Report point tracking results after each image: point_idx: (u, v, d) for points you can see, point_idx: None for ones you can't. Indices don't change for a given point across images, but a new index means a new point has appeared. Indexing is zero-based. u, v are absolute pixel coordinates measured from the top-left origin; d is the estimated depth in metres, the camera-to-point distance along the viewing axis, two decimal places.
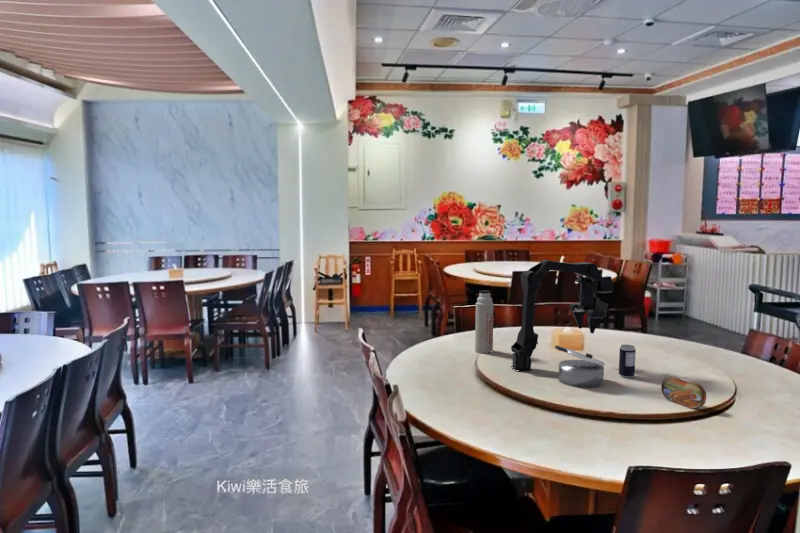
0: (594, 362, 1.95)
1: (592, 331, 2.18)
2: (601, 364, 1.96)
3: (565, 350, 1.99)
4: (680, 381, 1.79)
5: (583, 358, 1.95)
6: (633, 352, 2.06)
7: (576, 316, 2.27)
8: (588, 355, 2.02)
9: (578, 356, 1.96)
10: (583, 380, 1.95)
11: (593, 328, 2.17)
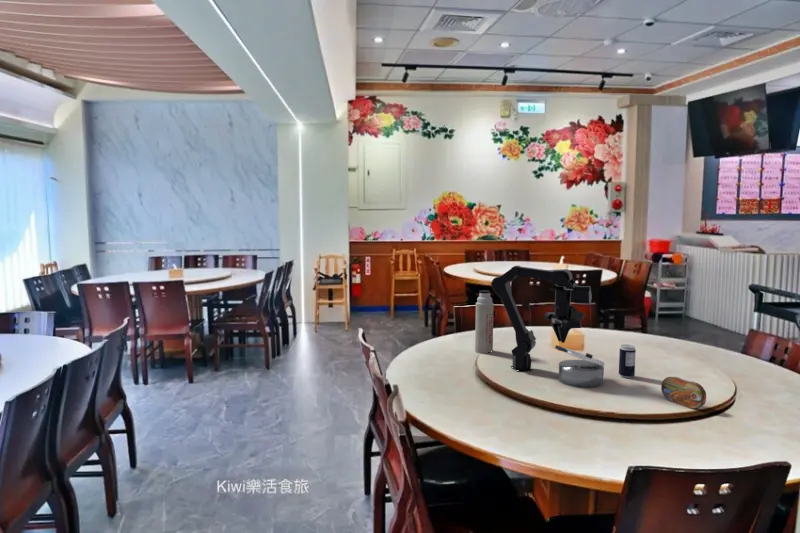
0: (594, 362, 1.95)
1: (563, 340, 2.08)
2: (601, 364, 1.96)
3: (565, 350, 1.99)
4: (680, 381, 1.79)
5: (583, 358, 1.95)
6: (633, 352, 2.06)
7: (556, 328, 2.11)
8: (588, 355, 2.02)
9: (578, 356, 1.96)
10: (583, 380, 1.95)
11: (564, 337, 2.08)
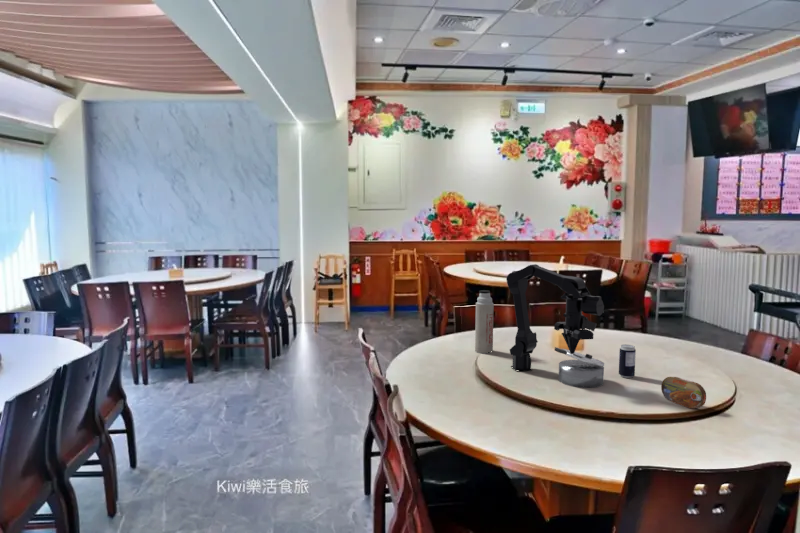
0: (594, 363, 1.95)
1: (572, 351, 2.01)
2: (601, 364, 1.96)
3: (564, 352, 1.99)
4: (680, 381, 1.79)
5: (583, 359, 1.95)
6: (633, 352, 2.06)
7: (568, 339, 2.02)
8: (588, 356, 2.02)
9: (577, 358, 1.96)
10: (583, 380, 1.95)
11: (573, 348, 2.00)
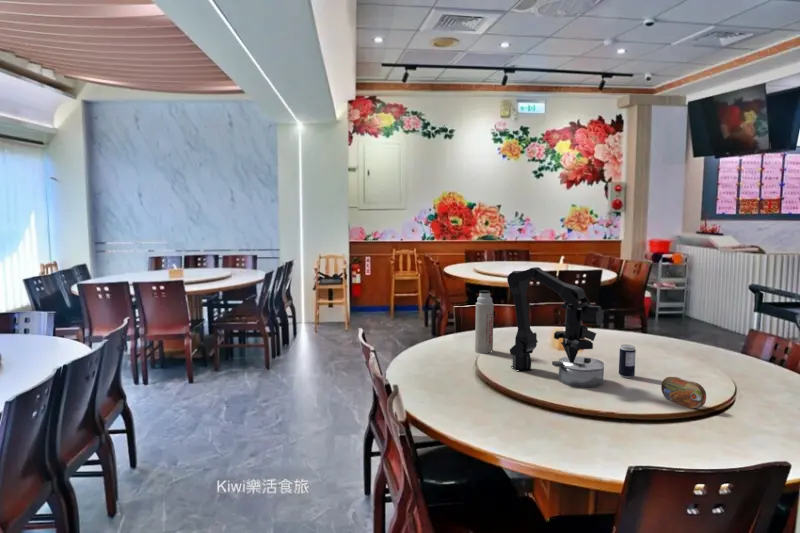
0: (593, 369, 1.95)
1: (572, 360, 2.01)
2: (600, 367, 1.97)
3: (562, 364, 2.00)
4: (680, 381, 1.79)
5: (581, 368, 1.95)
6: (633, 352, 2.06)
7: None
8: (586, 360, 2.02)
9: (576, 368, 1.96)
10: (583, 380, 1.95)
11: (573, 357, 2.01)
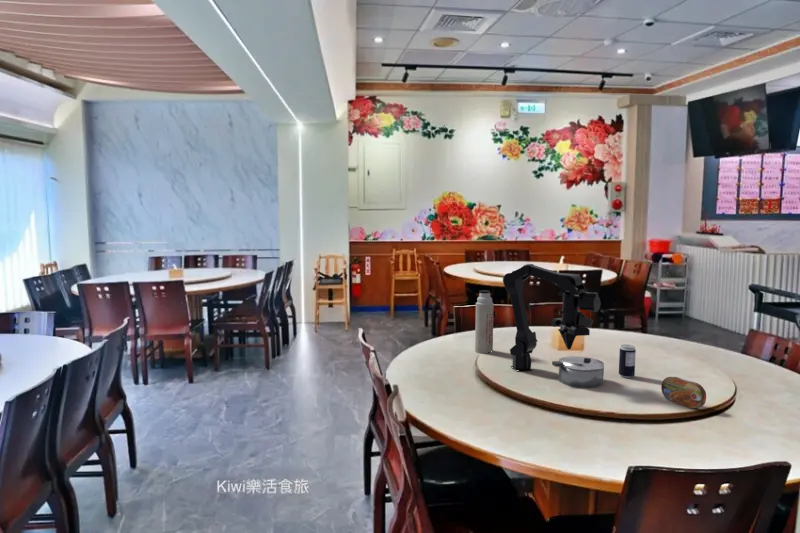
0: (593, 369, 1.95)
1: (569, 347, 2.03)
2: (600, 367, 1.97)
3: (562, 364, 2.00)
4: (680, 381, 1.79)
5: (581, 368, 1.95)
6: (633, 352, 2.06)
7: None
8: (586, 360, 2.02)
9: (576, 368, 1.96)
10: (583, 380, 1.95)
11: (570, 344, 2.02)
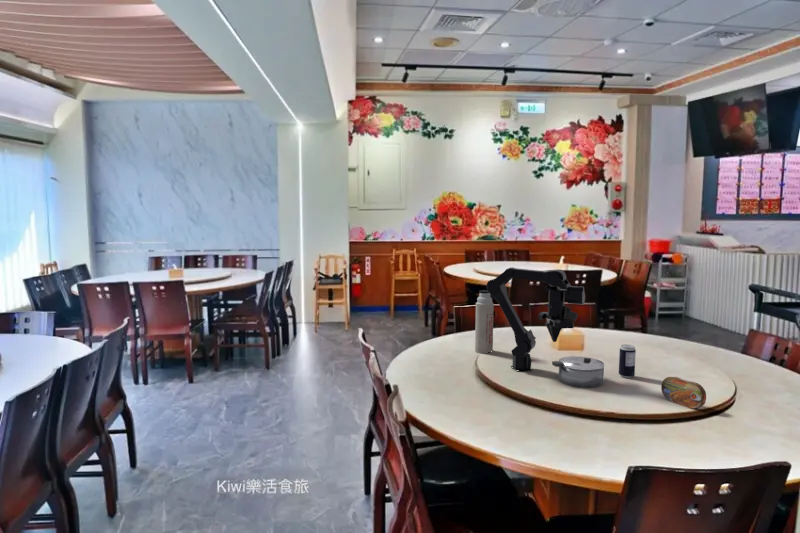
0: (593, 369, 1.95)
1: (555, 340, 2.11)
2: (600, 367, 1.97)
3: (562, 364, 2.00)
4: (680, 381, 1.79)
5: (581, 368, 1.95)
6: (633, 352, 2.06)
7: None
8: (586, 360, 2.02)
9: (576, 368, 1.96)
10: (583, 380, 1.95)
11: (556, 336, 2.10)
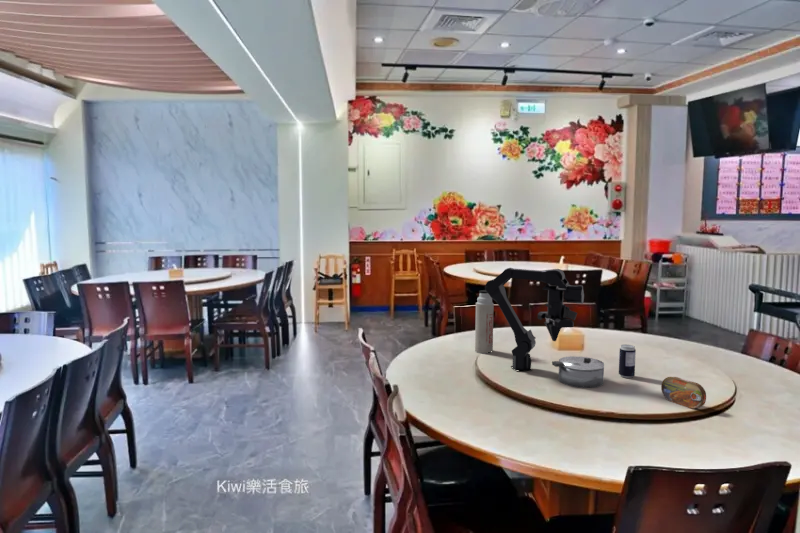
0: (593, 369, 1.95)
1: (554, 339, 2.11)
2: (600, 367, 1.97)
3: (562, 364, 2.00)
4: (680, 381, 1.79)
5: (581, 368, 1.95)
6: (633, 352, 2.06)
7: (550, 328, 2.12)
8: (586, 360, 2.02)
9: (576, 368, 1.96)
10: (583, 380, 1.95)
11: (555, 336, 2.11)
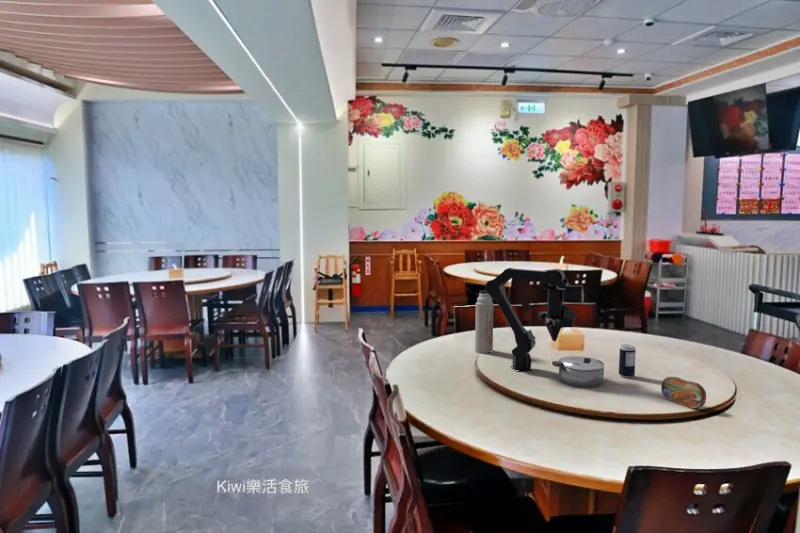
0: (593, 369, 1.95)
1: (554, 339, 2.11)
2: (600, 367, 1.97)
3: (562, 364, 2.00)
4: (680, 381, 1.79)
5: (581, 368, 1.95)
6: (633, 352, 2.06)
7: (550, 328, 2.12)
8: (586, 360, 2.02)
9: (576, 368, 1.96)
10: (583, 380, 1.95)
11: (555, 336, 2.11)
